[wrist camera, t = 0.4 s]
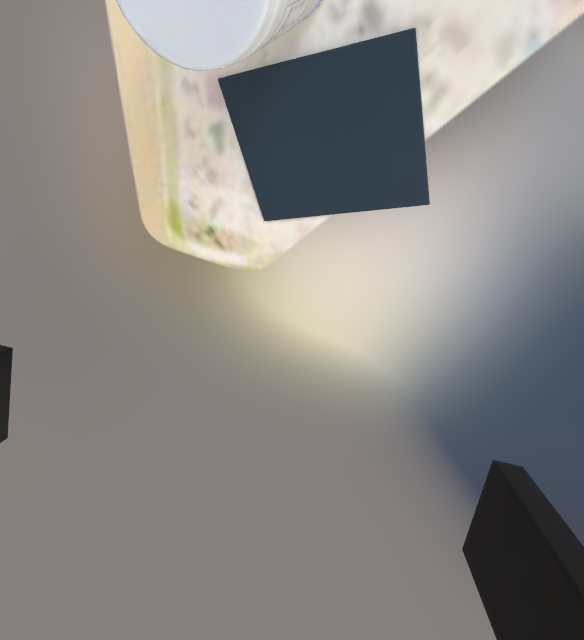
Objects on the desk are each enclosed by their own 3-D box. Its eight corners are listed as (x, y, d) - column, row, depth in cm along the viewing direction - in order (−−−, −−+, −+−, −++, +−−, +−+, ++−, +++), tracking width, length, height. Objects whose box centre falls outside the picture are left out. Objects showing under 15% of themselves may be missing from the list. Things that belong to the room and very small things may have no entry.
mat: (219, 78, 39) (217, 79, 39) (415, 27, 33) (414, 28, 32) (265, 219, 48) (264, 221, 47) (429, 203, 41) (429, 204, 41)
